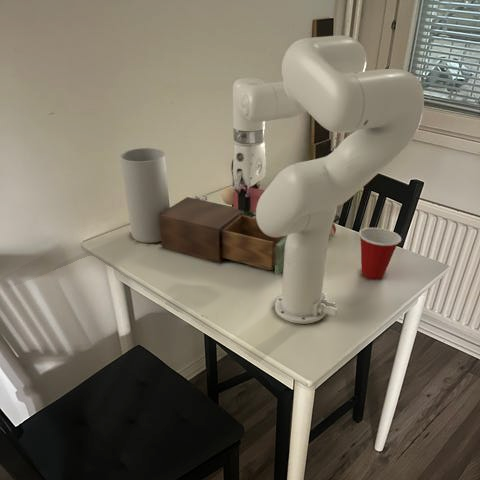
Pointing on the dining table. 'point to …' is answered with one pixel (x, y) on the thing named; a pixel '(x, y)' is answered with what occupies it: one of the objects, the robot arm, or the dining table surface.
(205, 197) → the soldier figure
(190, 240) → the cabinet
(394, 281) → the dining table surface
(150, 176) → the cylinder vase
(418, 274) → the dining table surface
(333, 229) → the figurine character
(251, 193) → the pink block on ball
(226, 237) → the drawer
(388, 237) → the plastic cup
